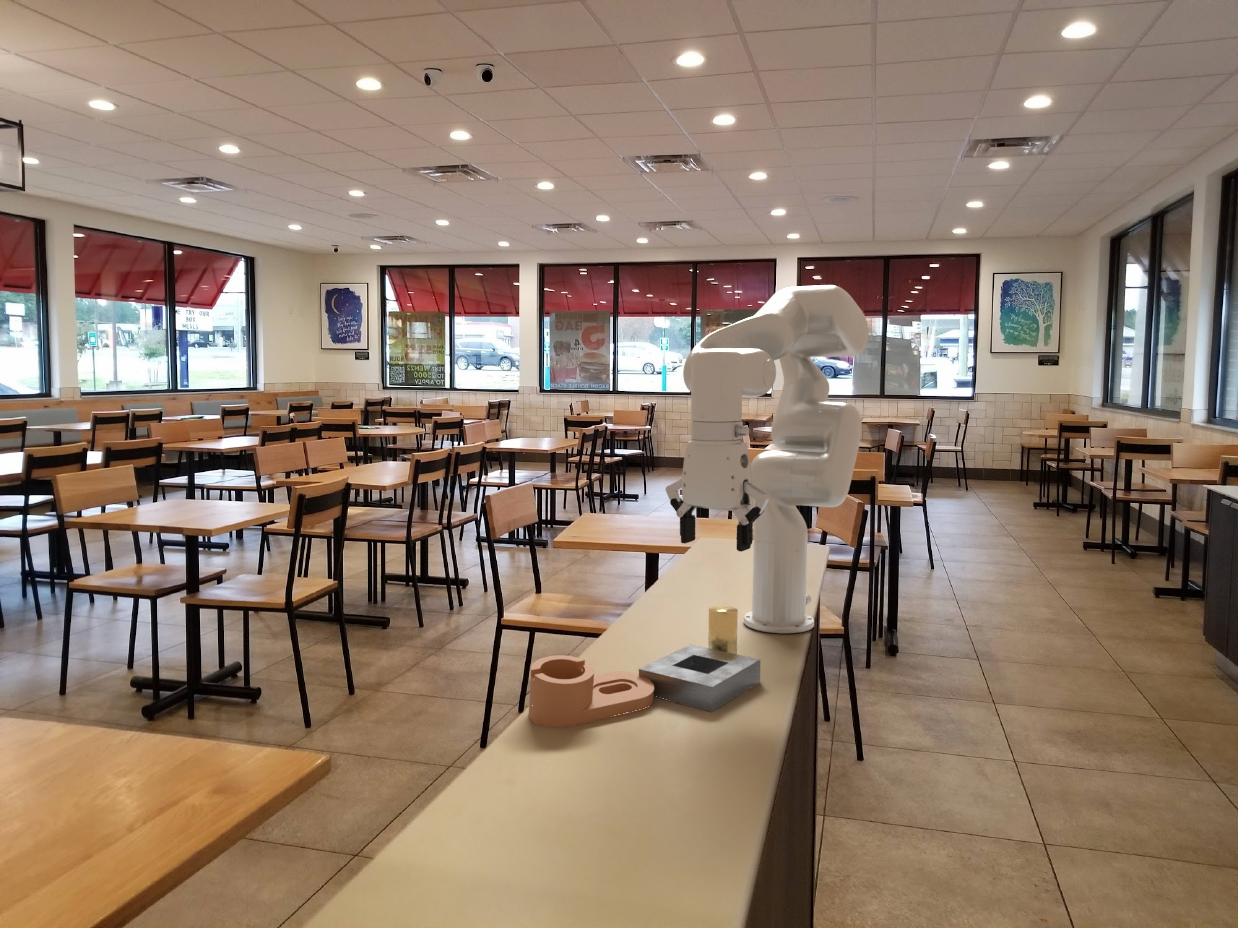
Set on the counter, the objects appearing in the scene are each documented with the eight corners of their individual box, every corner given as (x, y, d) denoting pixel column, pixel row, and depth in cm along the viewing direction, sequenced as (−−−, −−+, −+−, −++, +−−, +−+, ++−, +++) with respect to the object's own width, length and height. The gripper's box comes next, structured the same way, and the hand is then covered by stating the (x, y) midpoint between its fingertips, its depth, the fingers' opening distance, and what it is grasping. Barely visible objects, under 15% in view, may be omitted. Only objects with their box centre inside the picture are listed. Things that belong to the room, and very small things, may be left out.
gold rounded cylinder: (716, 659, 139) (717, 604, 138) (741, 665, 136) (742, 608, 135) (702, 667, 135) (703, 610, 134) (727, 673, 132) (728, 615, 131)
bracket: (545, 738, 111) (548, 688, 109) (518, 708, 118) (521, 661, 116) (664, 711, 120) (668, 664, 118) (633, 684, 127) (636, 640, 125)
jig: (690, 666, 135) (690, 644, 135) (760, 682, 128) (760, 659, 128) (638, 692, 124) (638, 668, 124) (712, 711, 117) (712, 686, 117)
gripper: (780, 433, 128) (778, 548, 130) (680, 429, 138) (680, 535, 140) (756, 437, 122) (754, 557, 124) (654, 432, 132) (654, 543, 134)
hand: (715, 545), depth 132 cm, fingers open, 9 cm apart
